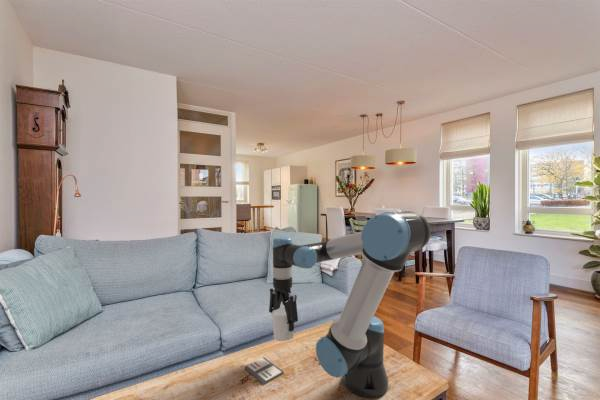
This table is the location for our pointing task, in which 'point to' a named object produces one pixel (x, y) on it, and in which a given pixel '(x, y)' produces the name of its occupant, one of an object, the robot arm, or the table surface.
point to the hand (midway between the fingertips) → (283, 334)
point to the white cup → (280, 324)
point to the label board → (263, 370)
